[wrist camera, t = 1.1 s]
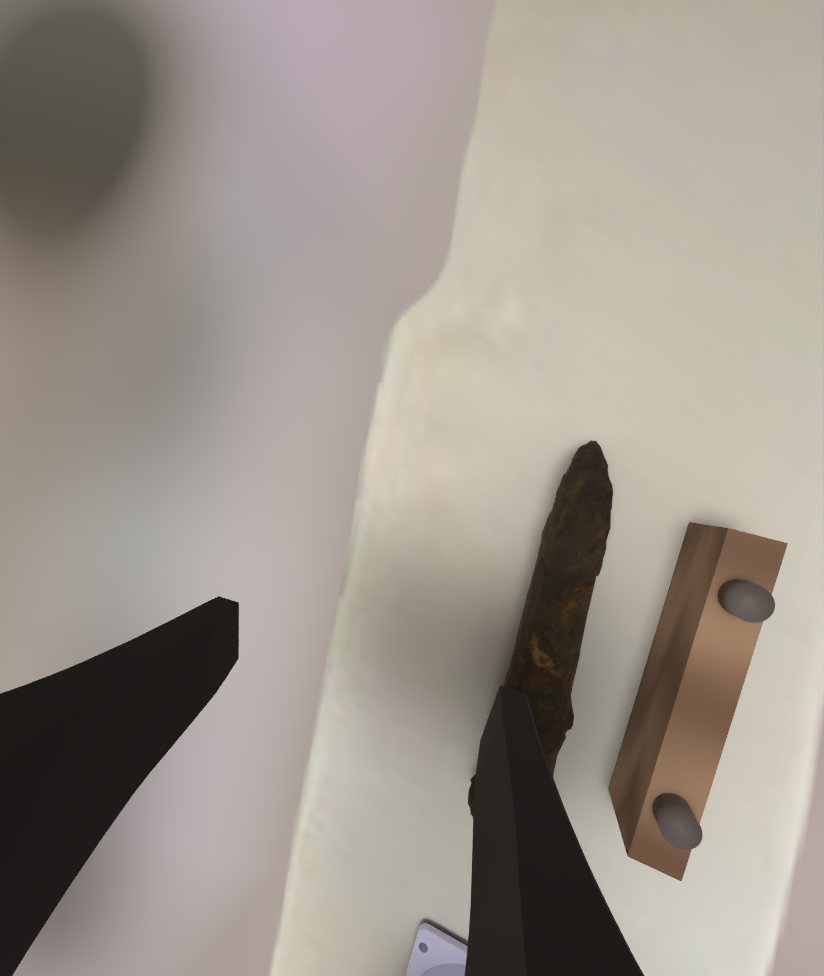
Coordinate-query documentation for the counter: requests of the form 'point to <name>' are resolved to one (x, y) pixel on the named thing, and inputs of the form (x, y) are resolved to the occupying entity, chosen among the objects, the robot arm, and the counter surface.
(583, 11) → the counter surface
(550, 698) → the hand tool
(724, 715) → the stop rail
